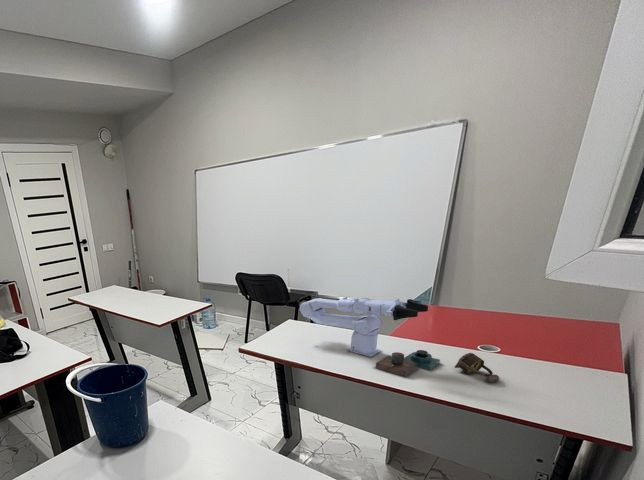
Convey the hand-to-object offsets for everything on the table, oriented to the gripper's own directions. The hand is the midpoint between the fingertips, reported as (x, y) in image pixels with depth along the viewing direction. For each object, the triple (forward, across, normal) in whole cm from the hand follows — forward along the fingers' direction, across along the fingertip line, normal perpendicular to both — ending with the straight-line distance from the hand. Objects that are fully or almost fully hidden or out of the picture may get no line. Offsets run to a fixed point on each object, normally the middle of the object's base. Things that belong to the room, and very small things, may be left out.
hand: (422, 311), depth 130 cm
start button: (-1, +3, +19) cm, 19 cm away
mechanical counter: (+16, +4, +23) cm, 29 cm away
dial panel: (-5, -8, +21) cm, 23 cm away
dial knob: (-5, -8, +19) cm, 21 cm away
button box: (-1, +2, +22) cm, 22 cm away
